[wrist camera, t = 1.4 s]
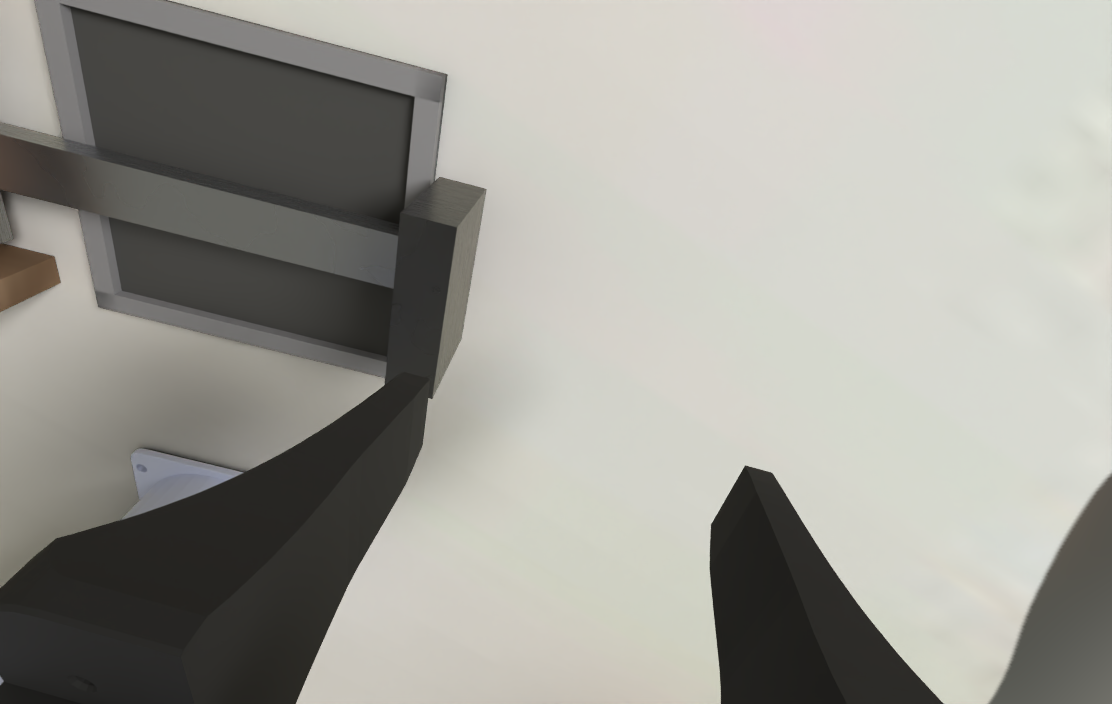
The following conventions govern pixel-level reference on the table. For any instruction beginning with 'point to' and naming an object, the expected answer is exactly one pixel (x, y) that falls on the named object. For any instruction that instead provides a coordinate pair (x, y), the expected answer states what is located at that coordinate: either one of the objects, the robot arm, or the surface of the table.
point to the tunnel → (24, 274)
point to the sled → (278, 231)
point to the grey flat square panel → (242, 162)
